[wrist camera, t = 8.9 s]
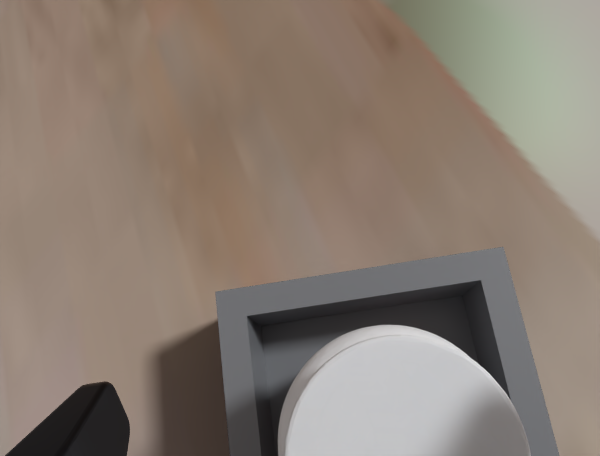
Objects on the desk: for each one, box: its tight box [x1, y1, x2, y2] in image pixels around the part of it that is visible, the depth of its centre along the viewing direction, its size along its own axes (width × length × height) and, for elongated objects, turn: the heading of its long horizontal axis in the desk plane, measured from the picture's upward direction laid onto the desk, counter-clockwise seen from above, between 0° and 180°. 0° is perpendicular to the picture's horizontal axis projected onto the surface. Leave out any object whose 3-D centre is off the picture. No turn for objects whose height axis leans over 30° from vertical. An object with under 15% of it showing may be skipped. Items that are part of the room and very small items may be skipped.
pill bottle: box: [278, 325, 531, 456], centre depth 14 cm, size 6×6×10 cm
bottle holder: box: [215, 247, 559, 456], centre depth 18 cm, size 10×10×4 cm
